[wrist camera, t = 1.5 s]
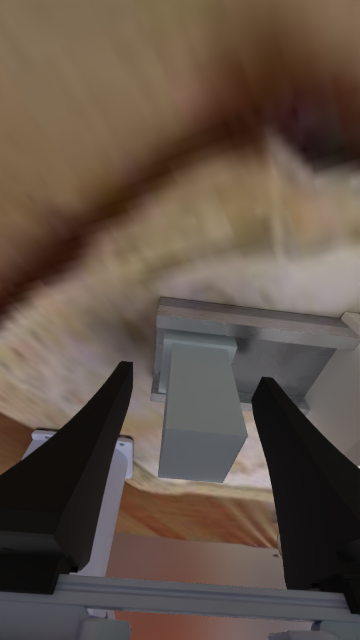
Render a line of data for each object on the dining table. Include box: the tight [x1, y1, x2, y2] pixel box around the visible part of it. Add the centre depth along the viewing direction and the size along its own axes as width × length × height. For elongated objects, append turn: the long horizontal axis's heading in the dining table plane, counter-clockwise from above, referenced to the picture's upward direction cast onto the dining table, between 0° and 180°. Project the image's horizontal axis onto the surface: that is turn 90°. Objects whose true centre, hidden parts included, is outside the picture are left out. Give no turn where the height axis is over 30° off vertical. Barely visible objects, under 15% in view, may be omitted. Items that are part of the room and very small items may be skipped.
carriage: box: [158, 329, 248, 483], centre depth 11 cm, size 4×4×6 cm
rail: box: [150, 297, 360, 416], centre depth 14 cm, size 11×7×2 cm, turn 83°
